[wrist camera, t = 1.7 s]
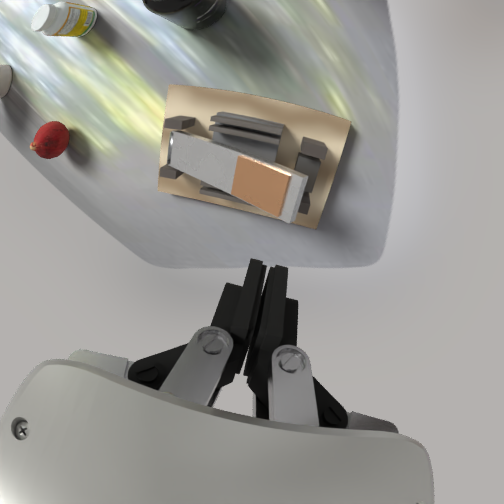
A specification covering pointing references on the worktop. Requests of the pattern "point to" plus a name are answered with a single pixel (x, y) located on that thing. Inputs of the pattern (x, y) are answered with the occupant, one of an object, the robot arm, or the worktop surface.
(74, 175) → the worktop surface
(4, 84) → the coffee cup
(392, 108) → the worktop surface
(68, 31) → the supplement bottle
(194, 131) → the heatsink base
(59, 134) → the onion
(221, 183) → the strap
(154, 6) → the supplement bottle
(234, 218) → the worktop surface
